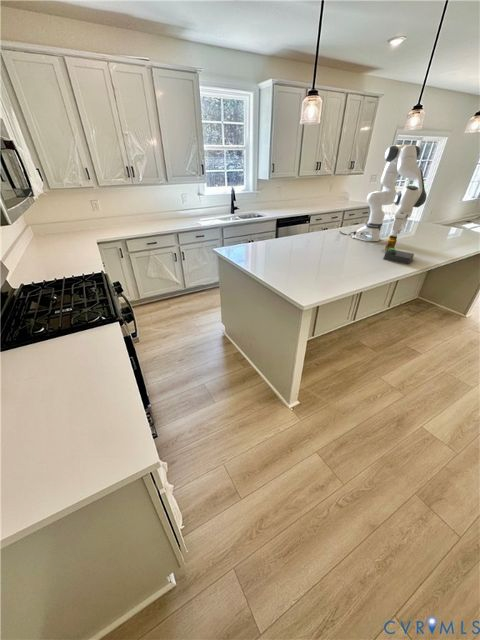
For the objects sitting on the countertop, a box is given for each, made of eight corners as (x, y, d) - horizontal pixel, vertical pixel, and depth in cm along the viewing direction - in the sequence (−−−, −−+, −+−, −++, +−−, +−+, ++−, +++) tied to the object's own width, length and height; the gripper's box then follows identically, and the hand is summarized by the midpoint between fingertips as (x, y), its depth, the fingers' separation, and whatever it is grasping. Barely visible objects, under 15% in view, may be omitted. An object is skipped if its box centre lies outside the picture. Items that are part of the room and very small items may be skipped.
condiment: (382, 251, 200) (387, 236, 194) (385, 249, 206) (390, 233, 199) (392, 253, 196) (397, 237, 190) (395, 250, 202) (400, 235, 195)
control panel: (382, 258, 187) (385, 250, 184) (387, 254, 195) (390, 246, 192) (408, 264, 178) (411, 256, 174) (412, 259, 186) (415, 251, 183)
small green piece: (387, 251, 184) (388, 248, 183) (389, 249, 186) (389, 247, 185) (393, 252, 182) (393, 249, 181) (394, 251, 184) (395, 248, 183)
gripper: (402, 210, 179) (395, 231, 186) (394, 215, 166) (387, 236, 173) (412, 212, 175) (405, 232, 183) (405, 216, 162) (397, 238, 170)
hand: (396, 234), depth 178 cm, fingers open, 5 cm apart
